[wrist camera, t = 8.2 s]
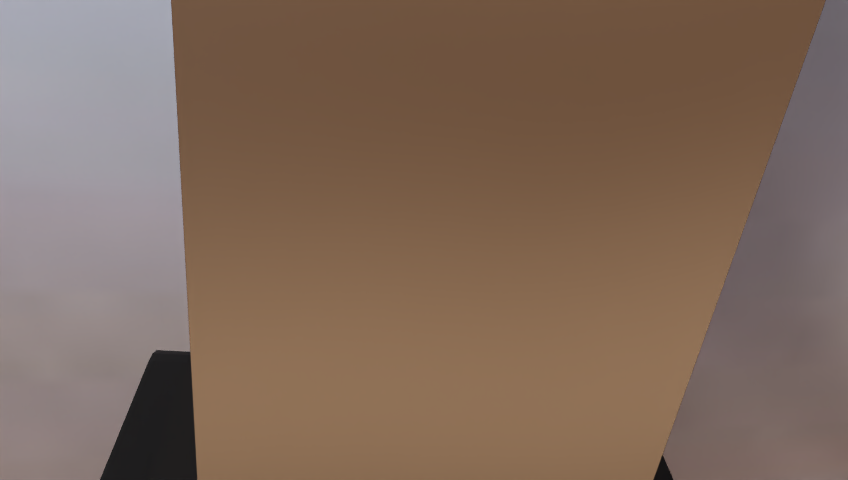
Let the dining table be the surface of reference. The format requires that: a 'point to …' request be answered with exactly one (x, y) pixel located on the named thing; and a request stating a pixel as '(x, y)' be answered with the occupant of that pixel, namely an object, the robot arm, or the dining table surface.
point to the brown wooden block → (464, 225)
